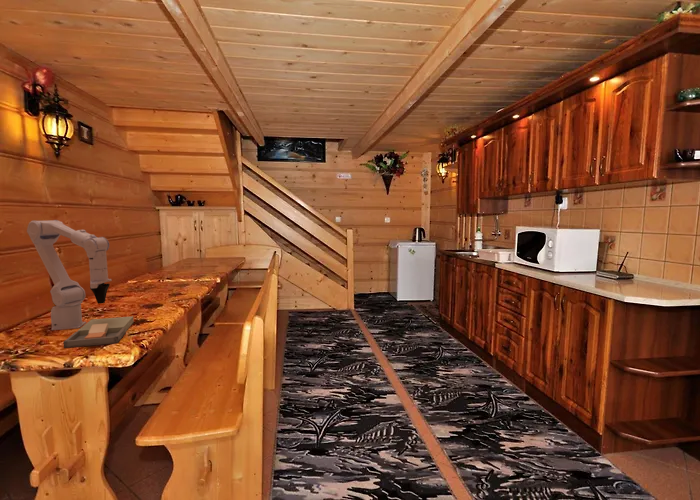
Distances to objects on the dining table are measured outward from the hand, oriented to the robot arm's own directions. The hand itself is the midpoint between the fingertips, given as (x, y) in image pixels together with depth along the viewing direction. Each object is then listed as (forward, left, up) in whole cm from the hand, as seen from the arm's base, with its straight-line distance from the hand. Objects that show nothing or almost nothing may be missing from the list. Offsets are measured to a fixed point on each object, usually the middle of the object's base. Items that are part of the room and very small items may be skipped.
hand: (101, 303), depth 146 cm
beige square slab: (+2, -1, -10) cm, 11 cm away
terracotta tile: (+2, -16, -10) cm, 19 cm away
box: (+2, -14, -10) cm, 17 cm away
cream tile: (+2, -10, -9) cm, 14 cm away
